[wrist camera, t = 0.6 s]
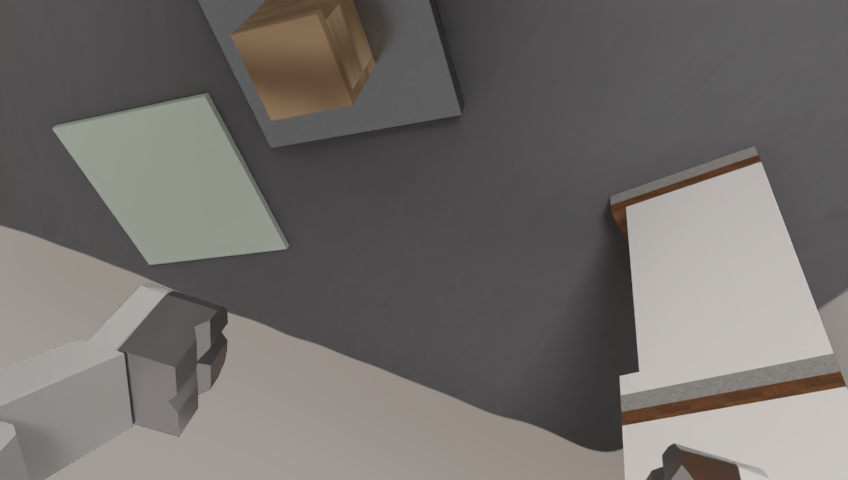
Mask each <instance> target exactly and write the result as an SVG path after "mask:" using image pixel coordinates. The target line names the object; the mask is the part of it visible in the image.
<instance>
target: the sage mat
mask: <svg viewBox="0 0 848 480" xmlns="http://www.w3.org/2000/svg"><path fill="white" fill-rule="evenodd" d="M52 129H53V131H54V132H55V133H56V135H57V136H58V138H59V139H60V140H61V142H62V143H63V145H64V146H65V147H66V149H67V150H68V152H69V153H70V154H71V156H72V157H73V159H74V160H75V161H76V163H77V164H78V166H79V167H80V168H81V170H82V171H83V173H84V174H85V175H86V177H87V178H88V180H89V181H90V182H91V184H92V185H93V187H94V188H95V189H96V191H97V192H98V194H99V195H100V196H101V198H102V199H103V201H104V202H105V203H106V205H107V206H108V208H109V209H110V210H111V212H112V213H113V215H114V216H115V217H116V219H117V220H118V222H119V223H120V224H121V226H122V227H123V229H124V230H125V231H126V233H127V234H128V236H129V237H130V238H131V240H132V241H133V243H134V244H135V245H136V247H137V248H138V250H139V251H140V252H141V254H142V255H143V257H144V258H145V259H146V261H147V262H148V264H149V265H153V264H162V263H171V262H179V261H188V260H197V259H206V258H214V257H223V256H232V255H241V254H249V253H258V252H267V251H276V250H284V249H287V248H288V246H289V244H288V242H287V240H286V238H285V236H284V234H283V233H282V231H281V229H280V227H279V225H278V223H277V221H276V219H275V218H274V216H273V214H272V212H271V210H270V208H269V206H268V204H267V202H266V201H265V199H264V197H263V195H262V193H261V191H260V189H259V187H258V186H257V184H256V182H255V180H254V178H253V176H252V174H251V172H250V171H249V169H248V167H247V165H246V163H245V161H244V159H243V157H242V155H241V154H240V152H239V150H238V148H237V146H236V144H235V142H234V140H233V139H232V137H231V135H230V133H229V131H228V129H227V127H226V125H225V123H224V122H223V120H222V118H221V116H220V114H219V112H218V110H217V108H216V107H215V105H214V103H213V101H212V99H211V97H210V95H209V93H204V94H199V95H195V96H190V97H185V98H181V99H176V100H171V101H167V102H162V103H157V104H153V105H148V106H143V107H139V108H134V109H129V110H124V111H120V112H115V113H110V114H106V115H101V116H96V117H92V118H87V119H82V120H78V121H73V122H68V123H64V124H59V125H56V126H55V127H53V128H52Z"/></svg>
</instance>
